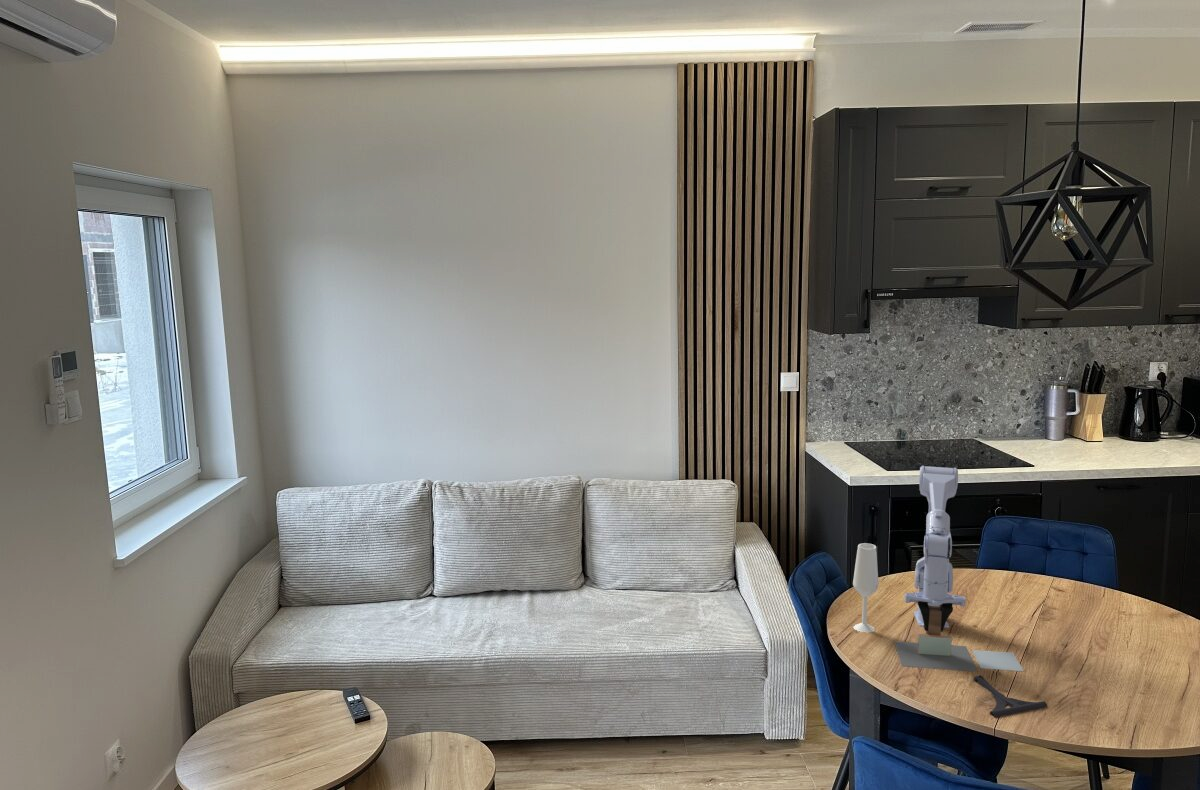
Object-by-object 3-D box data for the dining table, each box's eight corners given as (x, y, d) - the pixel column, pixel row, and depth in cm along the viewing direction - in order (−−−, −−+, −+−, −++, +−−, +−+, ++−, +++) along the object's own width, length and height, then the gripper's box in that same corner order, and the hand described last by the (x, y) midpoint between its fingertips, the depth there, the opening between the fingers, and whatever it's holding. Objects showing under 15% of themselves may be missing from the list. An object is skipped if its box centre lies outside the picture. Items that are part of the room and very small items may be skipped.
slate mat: (894, 642, 229) (894, 641, 229) (965, 647, 225) (965, 646, 225) (901, 667, 215) (901, 665, 215) (978, 673, 212) (978, 671, 212)
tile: (917, 651, 223) (918, 633, 222) (949, 654, 221) (950, 635, 220) (917, 653, 221) (918, 635, 221) (950, 656, 220) (951, 638, 219)
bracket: (999, 679, 210) (1000, 668, 210) (1047, 709, 196) (1048, 698, 196) (950, 689, 206) (950, 678, 206) (994, 720, 192) (995, 709, 192)
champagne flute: (872, 624, 240) (876, 542, 236) (879, 634, 234) (883, 550, 230) (848, 624, 240) (851, 542, 236) (854, 634, 234) (857, 550, 230)
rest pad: (971, 651, 223) (971, 649, 223) (1012, 654, 221) (1013, 652, 221) (980, 669, 214) (980, 668, 214) (1023, 672, 212) (1024, 671, 212)
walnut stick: (925, 634, 224) (927, 605, 223) (938, 635, 224) (939, 606, 222) (927, 639, 222) (929, 610, 220) (940, 640, 221) (941, 611, 220)
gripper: (908, 584, 218) (906, 634, 220) (969, 587, 215) (966, 638, 217) (904, 573, 225) (902, 622, 227) (963, 577, 222) (960, 626, 224)
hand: (933, 629), depth 222 cm, fingers closed on walnut stick, 3 cm apart
